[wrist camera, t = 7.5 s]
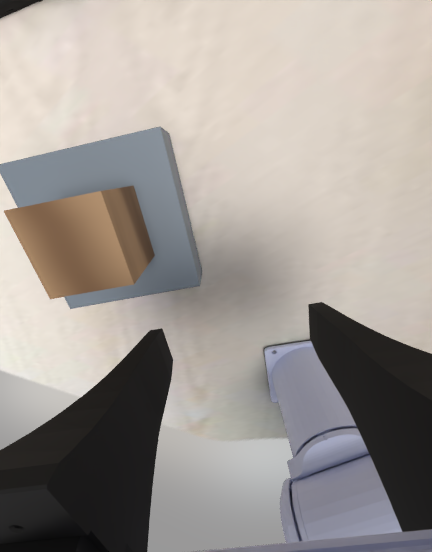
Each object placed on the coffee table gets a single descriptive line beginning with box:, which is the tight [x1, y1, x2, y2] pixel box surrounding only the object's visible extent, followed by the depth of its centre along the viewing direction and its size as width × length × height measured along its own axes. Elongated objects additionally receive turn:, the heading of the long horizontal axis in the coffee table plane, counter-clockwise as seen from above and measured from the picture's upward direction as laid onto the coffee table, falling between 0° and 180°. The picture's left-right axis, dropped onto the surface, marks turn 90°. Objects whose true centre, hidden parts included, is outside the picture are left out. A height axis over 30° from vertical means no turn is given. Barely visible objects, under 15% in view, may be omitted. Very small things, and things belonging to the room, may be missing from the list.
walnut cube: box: [4, 185, 155, 299], centre depth 15 cm, size 5×5×5 cm
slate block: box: [0, 127, 202, 309], centre depth 19 cm, size 11×11×4 cm
